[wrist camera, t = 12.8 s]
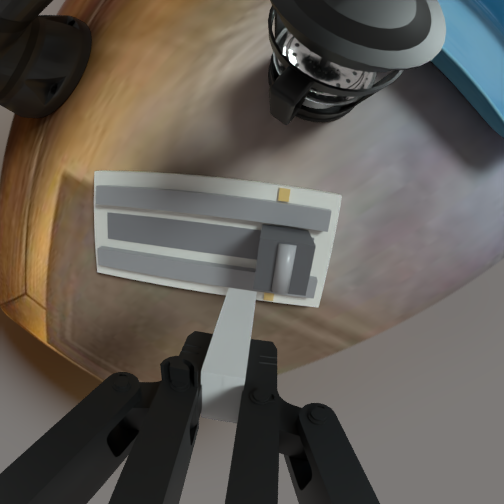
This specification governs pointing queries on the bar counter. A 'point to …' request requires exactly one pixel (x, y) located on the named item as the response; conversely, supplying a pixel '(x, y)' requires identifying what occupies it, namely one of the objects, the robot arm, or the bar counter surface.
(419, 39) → the french press
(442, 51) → the casserole dish
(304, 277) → the fader tab
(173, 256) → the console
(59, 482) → the robot arm
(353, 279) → the bar counter surface
